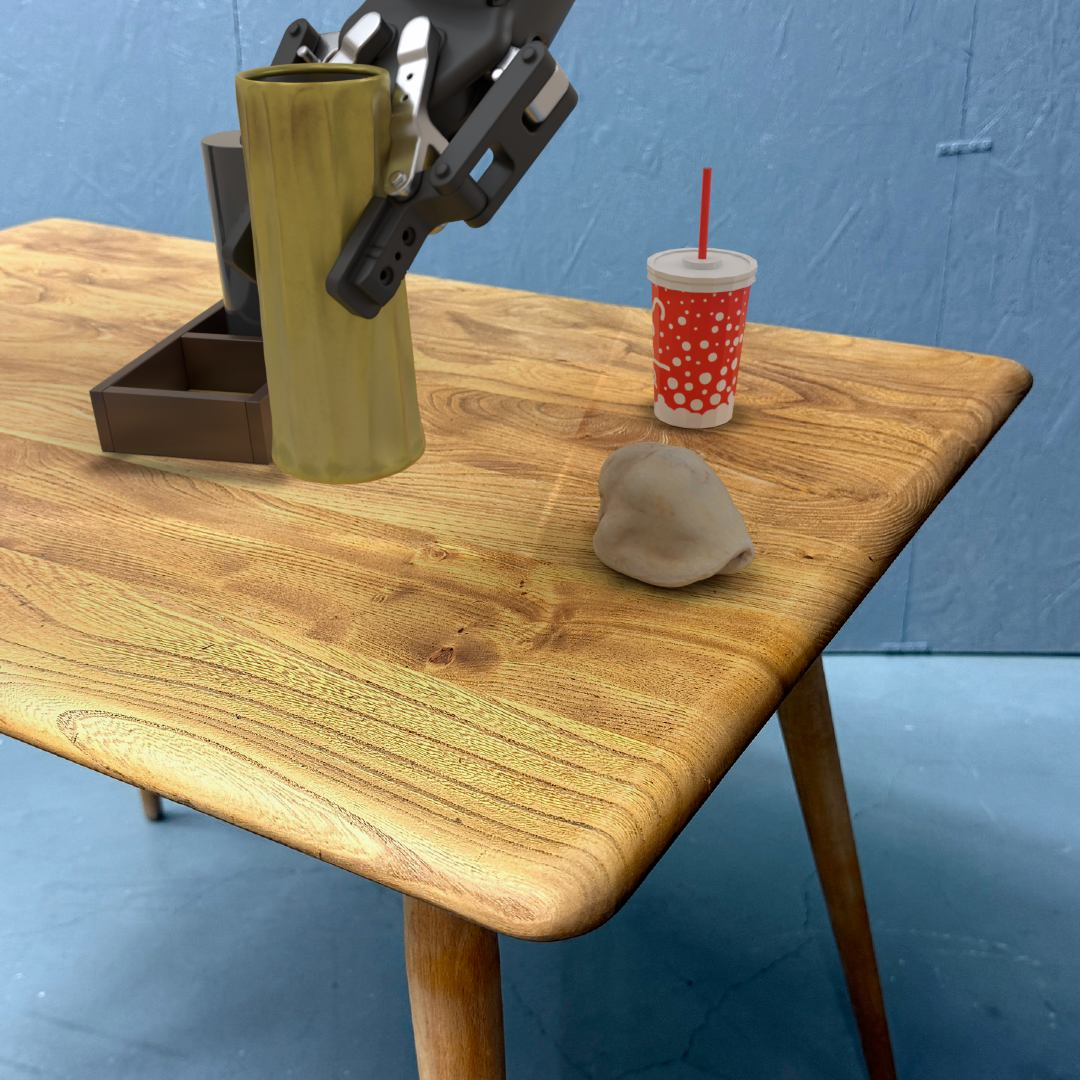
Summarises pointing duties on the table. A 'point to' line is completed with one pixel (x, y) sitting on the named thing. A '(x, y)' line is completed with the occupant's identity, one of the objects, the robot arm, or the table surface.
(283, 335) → the vase
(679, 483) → the stone
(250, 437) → the rack
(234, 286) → the dark grey cylinder
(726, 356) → the beverage cup
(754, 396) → the table surface
